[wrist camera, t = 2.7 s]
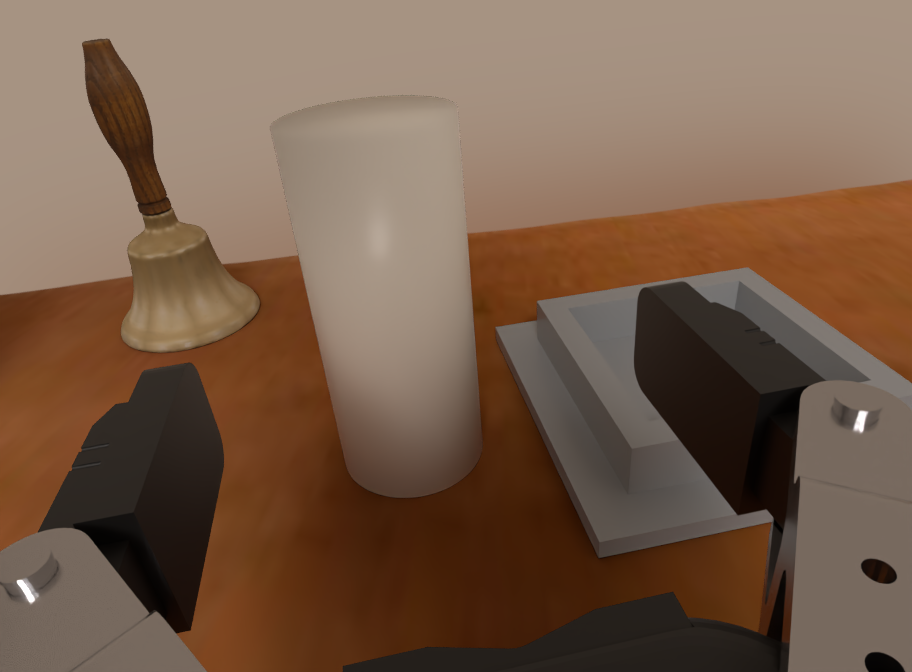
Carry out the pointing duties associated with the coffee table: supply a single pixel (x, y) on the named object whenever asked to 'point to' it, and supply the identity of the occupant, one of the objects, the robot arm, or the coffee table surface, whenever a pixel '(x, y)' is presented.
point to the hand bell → (161, 230)
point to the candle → (388, 283)
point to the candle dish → (650, 406)
